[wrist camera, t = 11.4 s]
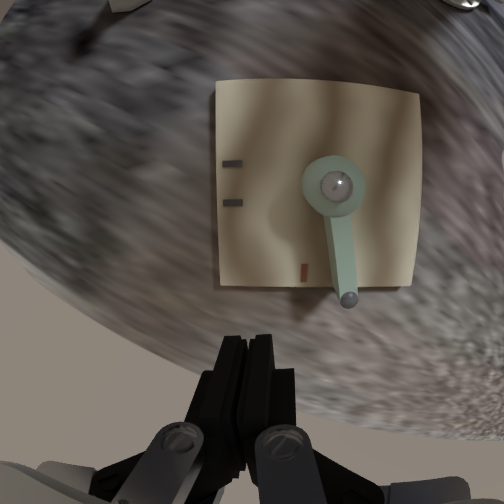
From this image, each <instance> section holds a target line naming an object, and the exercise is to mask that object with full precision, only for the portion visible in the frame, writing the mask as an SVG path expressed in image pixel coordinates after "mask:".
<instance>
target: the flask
mask: <svg viewBox="0 0 504 504" xmlns="http://www.w3.org/2000/svg"><path fill="white" fill-rule="evenodd" d="M149 1H151V0H109V4H110V7H111V10H112V12H113V13H116V12H127V11H132V10H134V9H136V8H137V7H139V6H141V5H143V4H145V3H147V2H149Z"/></svg>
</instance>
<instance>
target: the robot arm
mask: <svg viewBox="0 0 504 504" xmlns="http://www.w3.org/2000/svg"><path fill="white" fill-rule="evenodd" d="M443 1H444V2H446V3H448V4H450V5H452V6H454V7H457V8H460V9H465V10H471V9H474V8H475V7H477V6H478V5H479V4H480V1H481V0H443ZM495 1H497V2H498V3H500V4H502V3H504V0H495ZM246 463H247V465H248V469H249V473H250V476H251V480H252V482H253V483H254V484H255V485H256V486H257V487H258V490H259V499H260V504H504V502H503V501H500V500H496V499H483V498H482V499H471V496H470V488H469V485H468V483H467V482H466V481H465V480H464V479H463V478H460V477H457V476H456V477H445V478H438V479H430V480H422V481H412V482H402V483H401V482H400V483H391V484H390V486H377V485H376V484H375V483H373V482H371V481H369V480H367V479H365V478H363V477H361V476H359V475H358V474H356V473H354V472H352V471H350V470H348V469H347V468H345V467H343V466H341V465H339V464H338V463H336V462H334V461H332V460H331V459H329V458H327V457H326V456H324V455H322V454H321V453H319V452H317V451H316V450H314V449H312V445H311V442H310V439H309V436H308V435H307V433H306V432H305V431H304V430H303V429H301V428H299V427H297V426H296V403H295V377H294V368H289V369H275V363H274V353H273V342H272V335H271V334H262V335H256V337H255V339H250V343H249V348H248V346H247V341H246V339H241V336H240V335H239V336H224V339H223V342H222V345H221V348H220V351H219V354H218V357H217V360H216V363H215V366H214V369H213V371H210V370H205V371H203V373H202V375H201V378H200V380H199V383H198V385H197V388H196V391H195V394H194V396H193V399H192V401H191V404H190V407H189V410H188V412H187V415H186V418H185V420H184V422H175V423H171V424H169V425H167V426H165V427H163V428H162V429H161V430H160V431H159V432H158V433H157V434H156V436H155V437H154V439H153V440H152V442H151V444H150V445H149V446H148V448H147V450H146V451H144V452H142V453H139V454H137V455H135V456H132V457H130V458H127V459H125V460H123V461H120V462H118V463H115V464H112V465H110V466H107V467H105V468H103V469H101V470H99V471H96V470H95V468H91V467H84V466H77V465H71V464H65V463H60V462H55V461H46V462H43V463H42V464H40V465H39V466H38V468H37V469H36V470H35V469H32V468H30V467H27V466H24V465H21V464H18V463H13V462H7V461H0V504H219V503H220V500H221V498H222V495H223V493H224V488H225V485H227V484H229V483H230V482H232V478H239V472H240V471H245V469H246Z"/></svg>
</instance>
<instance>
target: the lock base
mask: <svg viewBox="0 0 504 504" xmlns="http://www.w3.org/2000/svg"><path fill="white" fill-rule="evenodd" d="M333 155H336V156H342V157H345V158H347V159H349V160H351V161H352V162H354V163H355V164H356V165H357V166H358V167H359V169H360V170H361V172H362V174H363V177H364V180H365V194H364V198H363V200H362V202H361V204H360V205H359V207H358V208H357V209H356V210H355V211H354V212H352V213H351V214H350V218H351V226H352V234H353V243H354V252H355V263H356V274H357V287H387V286H411V282H412V276H413V270H414V263H415V256H416V249H417V240H418V231H419V221H420V208H421V191H422V127H421V111H420V98H419V94H417V93H412V92H407V91H402V90H397V89H391V88H386V87H379V86H373V85H365V84H358V83H349V82H339V81H327V80H311V79H241V80H225V81H216V181H217V217H218V244H219V266H220V285H222V286H262V287H333V285H332V278H331V269H330V261H329V253H328V246H327V238H326V231H325V225H324V218H323V215H322V214H320V213H319V212H317V211H316V210H315V209H314V208H313V207H312V206H311V205H310V204H309V203H308V202H307V201H306V199H305V198H304V196H303V194H302V192H301V187H300V180H301V176H302V173H303V171H304V169H305V168H306V167H307V166H308V165H309V164H310V163H311V162H312V161H314V160H317V159H319V158H323V157H326V156H333Z"/></svg>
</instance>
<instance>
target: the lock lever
mask: <svg viewBox="0 0 504 504" xmlns="http://www.w3.org/2000/svg"><path fill="white" fill-rule="evenodd" d="M300 187H301V192H302V194H303V196H304V198H305V199H306V201H307V202H308V203H309V204H310V205H311V206H312V207H313V208H314V209H315V210H316V211H317V212H319V213H320V214H322V215H323V218H324V225H325V231H326V238H327V246H328V253H329V261H330V269H331V278H332V285H333V287H334V290H335V292H336V294H337V296H338V299H339V301H340V303H341V305H342V306H343V307H344V308H347V309H349V308H352V307H354V306H355V305H356V304H357V302H358V287H357V274H356V263H355V252H354V243H353V234H352V226H351V218H350V214H351V213H352V212H354V211H355V210H356V209H357V208H358V207H359V205H360V204H361V202H362V200H363V198H364V194H365V180H364V177H363V174H362V172H361V170H360V169H359V167H358V166H357V165H356V164H355V163H354V162H352V161H351V160H349V159H347V158H345V157H342V156H336V155H333V156H326V157H323V158H319V159H317V160H314V161H312V162H311V163H310V164H309V165H308V166H307V167H306V168H305V169H304V171H303V173H302V176H301V180H300Z"/></svg>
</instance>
